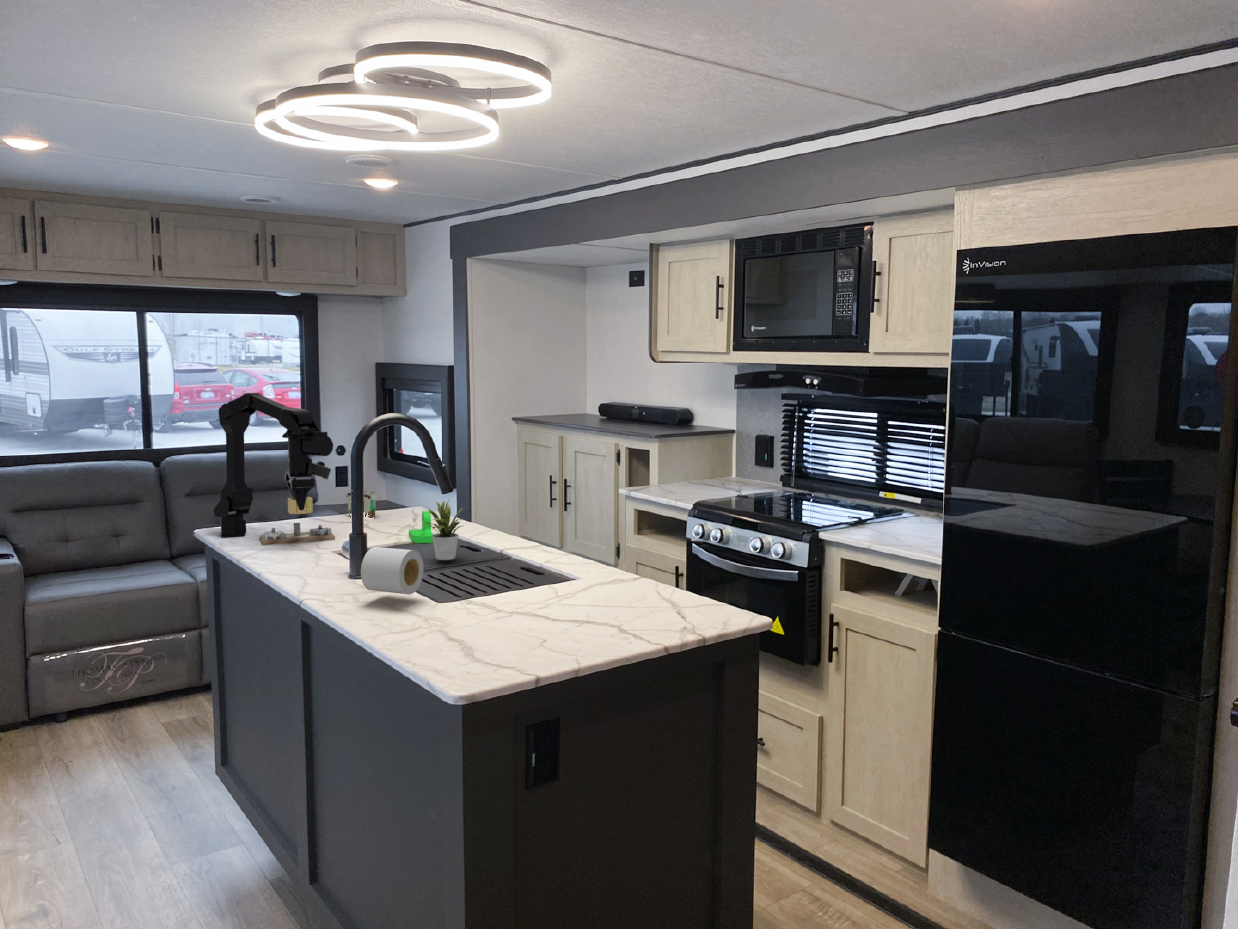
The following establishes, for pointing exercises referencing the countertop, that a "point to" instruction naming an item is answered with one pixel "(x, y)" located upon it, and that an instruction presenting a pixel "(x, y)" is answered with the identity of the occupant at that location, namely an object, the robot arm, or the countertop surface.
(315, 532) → the gear
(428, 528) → the mechanical part
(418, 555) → the toilet paper
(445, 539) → the house plant
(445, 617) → the countertop surface
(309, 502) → the tan hollow octagonal ring
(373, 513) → the food container
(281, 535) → the gear
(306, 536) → the gear board
